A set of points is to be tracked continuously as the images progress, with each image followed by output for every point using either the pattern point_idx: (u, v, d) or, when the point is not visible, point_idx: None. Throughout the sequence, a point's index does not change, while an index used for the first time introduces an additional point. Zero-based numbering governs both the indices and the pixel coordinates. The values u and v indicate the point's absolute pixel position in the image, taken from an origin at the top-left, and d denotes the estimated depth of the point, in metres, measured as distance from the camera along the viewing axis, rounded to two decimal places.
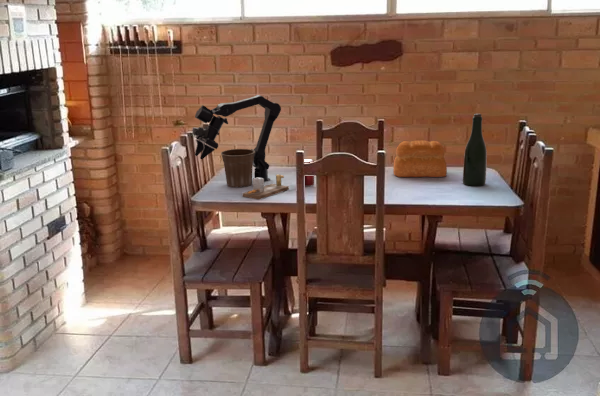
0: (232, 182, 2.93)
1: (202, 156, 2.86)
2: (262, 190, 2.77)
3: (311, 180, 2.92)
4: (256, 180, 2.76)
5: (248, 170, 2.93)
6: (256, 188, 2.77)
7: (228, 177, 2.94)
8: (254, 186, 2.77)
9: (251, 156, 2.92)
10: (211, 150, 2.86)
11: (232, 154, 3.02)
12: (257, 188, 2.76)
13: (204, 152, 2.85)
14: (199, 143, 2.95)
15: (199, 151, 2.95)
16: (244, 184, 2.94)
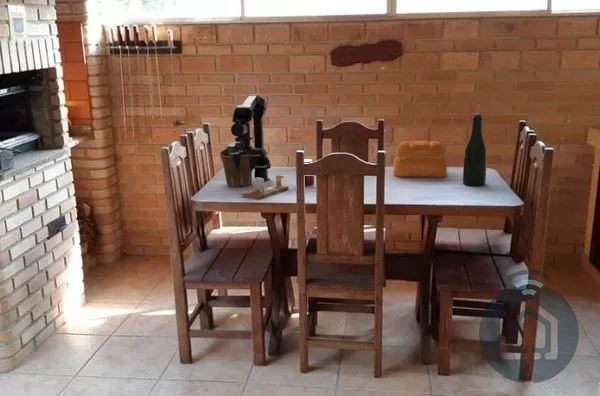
0: (232, 182, 2.93)
1: (252, 168, 2.72)
2: (262, 190, 2.77)
3: (311, 180, 2.92)
4: (256, 180, 2.76)
5: (247, 170, 2.92)
6: (256, 188, 2.77)
7: (228, 177, 2.94)
8: (254, 186, 2.77)
9: None
10: (257, 157, 2.72)
11: None
12: (257, 188, 2.76)
13: (252, 163, 2.71)
14: (235, 156, 2.77)
15: (238, 163, 2.79)
16: (244, 184, 2.94)
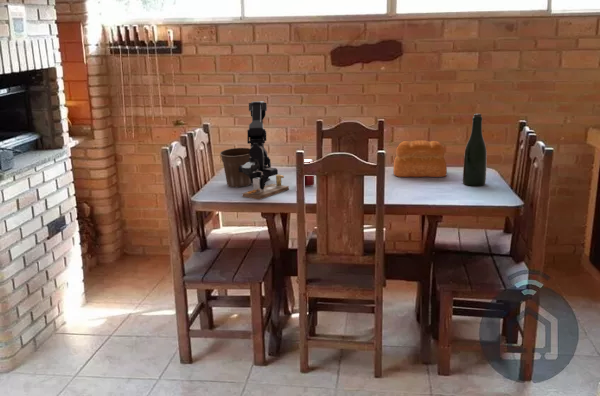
0: (232, 182, 2.93)
1: (263, 186, 2.76)
2: (262, 190, 2.77)
3: (311, 180, 2.92)
4: (256, 180, 2.76)
5: None
6: (256, 188, 2.77)
7: (228, 177, 2.94)
8: (254, 186, 2.77)
9: (250, 156, 2.91)
10: (267, 176, 2.76)
11: (232, 153, 3.01)
12: (257, 188, 2.76)
13: (263, 182, 2.75)
14: (252, 175, 2.77)
15: None
16: (244, 184, 2.94)
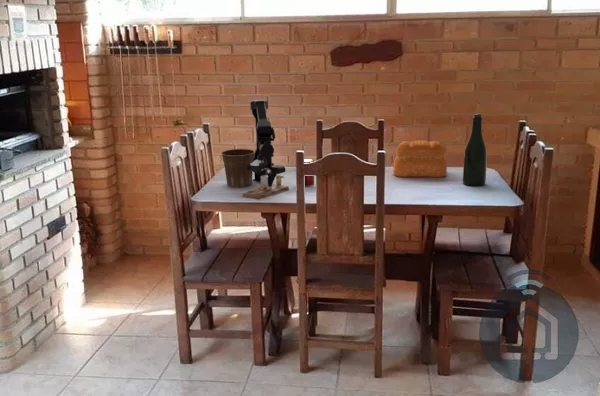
0: (232, 182, 2.93)
1: (270, 184, 2.80)
2: (270, 187, 2.82)
3: (311, 180, 2.92)
4: (264, 178, 2.80)
5: (248, 170, 2.93)
6: (264, 185, 2.81)
7: (228, 177, 2.94)
8: (262, 184, 2.81)
9: (251, 156, 2.92)
10: (275, 174, 2.80)
11: (233, 154, 3.02)
12: (265, 185, 2.81)
13: (271, 180, 2.79)
14: (260, 173, 2.82)
15: None
16: (244, 184, 2.94)
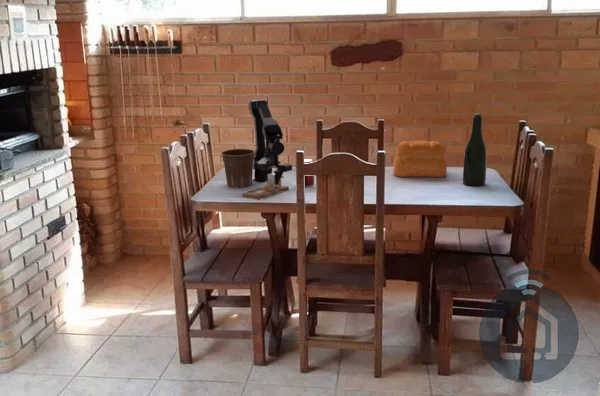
0: (232, 182, 2.93)
1: (277, 182, 2.84)
2: (277, 185, 2.85)
3: (311, 180, 2.92)
4: (271, 176, 2.84)
5: (248, 170, 2.93)
6: (271, 183, 2.85)
7: (228, 177, 2.94)
8: (269, 181, 2.85)
9: (251, 156, 2.92)
10: (282, 172, 2.84)
11: (233, 154, 3.02)
12: (272, 183, 2.84)
13: (278, 177, 2.83)
14: (267, 171, 2.85)
15: None
16: (244, 184, 2.94)
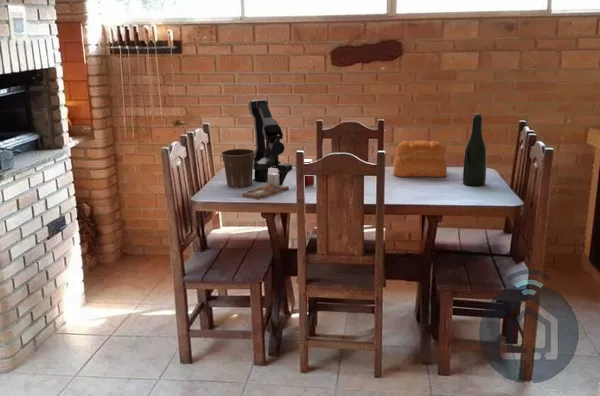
0: (232, 182, 2.93)
1: (281, 182, 2.83)
2: (277, 185, 2.85)
3: (311, 180, 2.92)
4: (271, 175, 2.84)
5: (248, 170, 2.93)
6: (271, 183, 2.85)
7: (228, 177, 2.94)
8: (269, 181, 2.85)
9: (251, 156, 2.92)
10: (286, 172, 2.82)
11: (233, 154, 3.02)
12: (272, 183, 2.84)
13: (282, 178, 2.82)
14: (263, 170, 2.87)
15: (266, 177, 2.89)
16: (244, 184, 2.94)
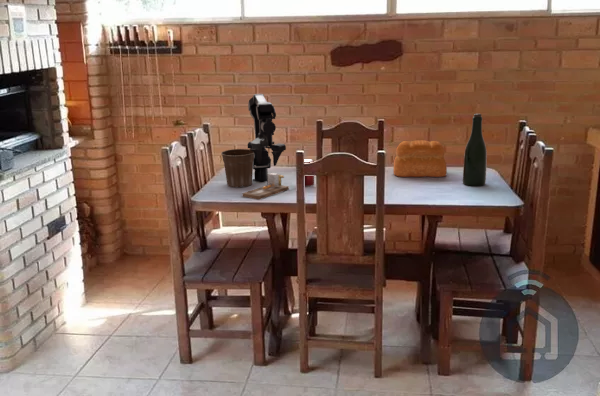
0: (232, 182, 2.93)
1: (275, 162, 2.82)
2: (277, 185, 2.85)
3: (311, 180, 2.92)
4: (271, 175, 2.84)
5: (248, 170, 2.93)
6: (271, 183, 2.85)
7: (228, 177, 2.94)
8: (269, 181, 2.85)
9: (251, 156, 2.92)
10: (280, 153, 2.81)
11: (233, 154, 3.02)
12: (272, 183, 2.84)
13: (276, 158, 2.81)
14: (256, 151, 2.86)
15: (260, 157, 2.88)
16: (244, 184, 2.94)
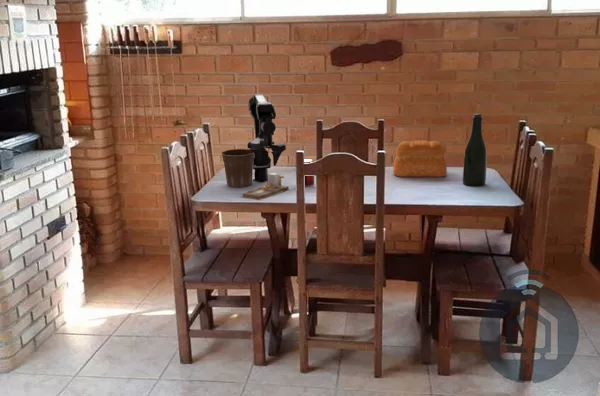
0: (232, 182, 2.93)
1: (275, 162, 2.82)
2: (277, 185, 2.85)
3: (311, 180, 2.92)
4: (271, 175, 2.84)
5: (248, 170, 2.93)
6: (271, 183, 2.85)
7: (228, 177, 2.94)
8: (269, 181, 2.85)
9: (251, 156, 2.92)
10: (280, 152, 2.81)
11: (233, 154, 3.02)
12: (272, 183, 2.84)
13: (276, 158, 2.81)
14: (256, 151, 2.86)
15: (260, 157, 2.88)
16: (244, 184, 2.94)
